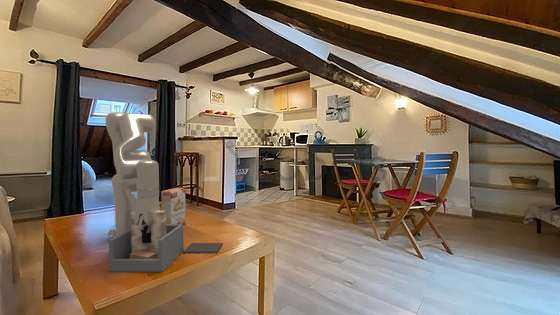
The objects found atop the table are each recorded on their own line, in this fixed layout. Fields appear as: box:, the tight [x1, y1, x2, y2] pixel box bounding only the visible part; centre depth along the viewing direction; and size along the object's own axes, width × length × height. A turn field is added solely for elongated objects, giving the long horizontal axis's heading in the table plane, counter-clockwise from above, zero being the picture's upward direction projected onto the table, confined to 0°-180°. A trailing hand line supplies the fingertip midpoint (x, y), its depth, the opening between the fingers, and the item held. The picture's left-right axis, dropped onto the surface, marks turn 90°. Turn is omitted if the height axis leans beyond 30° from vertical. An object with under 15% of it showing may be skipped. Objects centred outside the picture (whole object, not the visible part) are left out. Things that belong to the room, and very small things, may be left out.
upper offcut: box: [130, 250, 157, 259], centre depth 95 cm, size 9×4×2 cm, turn 69°
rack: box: [108, 225, 185, 273], centre depth 100 cm, size 18×19×11 cm
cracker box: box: [160, 187, 186, 226], centre depth 143 cm, size 14×6×21 cm, turn 168°
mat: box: [182, 242, 224, 254], centre depth 111 cm, size 14×10×1 cm
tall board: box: [131, 209, 166, 259], centre depth 100 cm, size 12×3×18 cm, turn 89°
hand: (149, 240), depth 100 cm, fingers closed on tall board, 3 cm apart
